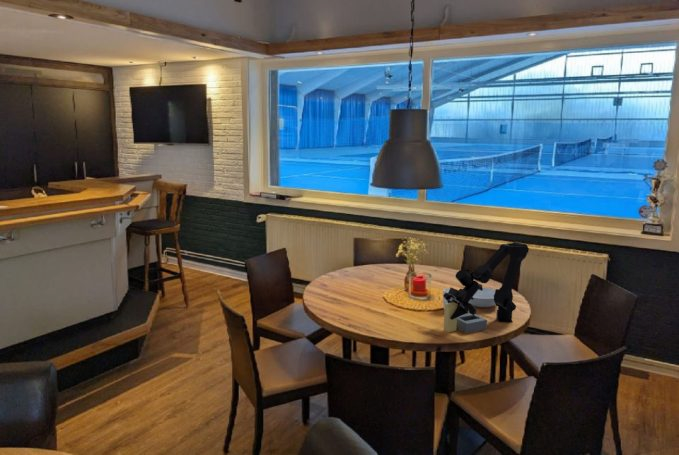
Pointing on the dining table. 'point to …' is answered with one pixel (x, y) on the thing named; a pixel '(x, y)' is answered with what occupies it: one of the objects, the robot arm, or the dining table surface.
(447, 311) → the pale yellow block
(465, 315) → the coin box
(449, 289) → the white cup
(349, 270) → the dining table surface
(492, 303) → the serving bowl
